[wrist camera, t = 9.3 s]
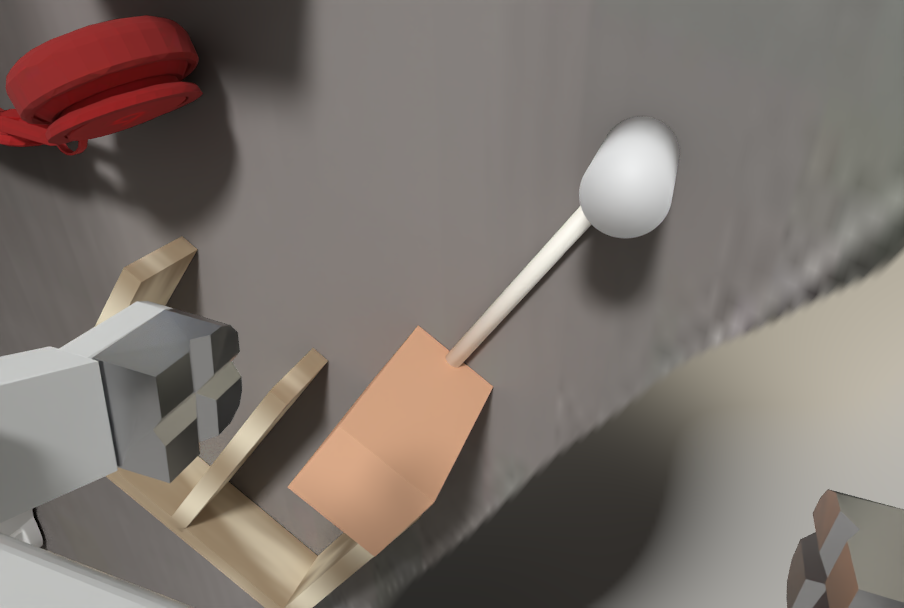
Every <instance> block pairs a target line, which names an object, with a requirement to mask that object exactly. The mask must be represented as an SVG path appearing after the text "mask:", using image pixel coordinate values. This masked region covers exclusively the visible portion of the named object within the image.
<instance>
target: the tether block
mask: <svg viewBox="0 0 904 608" xmlns="http://www.w3.org/2000/svg"><path fill="white" fill-rule="evenodd" d="M679 157H680V148H679V143H678V140H677V137H676V136H675V134H674V132H673V131H672V130H671V128H669V127H668V126H667V125H666V124H665V123H663V122H662V121H660V120H658V119H655V118H652V117H646V116H637V117H632V118H629V119H626V120H624V121H622V122H620V123H619V124H617V125H616V126H615V127H614V128H613V129H612V130H611V131H610V132H609V134H608V135H607V137H606V138H605V140H604V142H603V143H602V145H601V147H600V149H599V150H598V152H597V154H596V155H595V157H594V159H593V161H592V162H591V164H590V166H589V167H588V169H587V171H586V173H585V174H584V176H583V178H582V181H581V184H580V190H579V200H580V205H581V206H580V207H579V208H578V209H577V210H576V212H575V213H574V214H573V215H572V216H571V217H570V218H569V219H568V220H567V222H566V223H565V224H564V225H563V226H562V227H561V228H560V229H559V230H558V232H557V233H556V234H555V235H554V236H553V237H552V238H551V239H550V240H549V241H548V243H547V244H546V245H545V246H544V247H543V248H542V249H541V250H540V251H539V253H538V254H537V255H536V256H535V257H534V258H533V259H532V260H531V261H530V263H529V264H528V265H527V266H526V267H525V268H524V269H523V270H522V271H521V273H520V274H519V275H518V276H517V277H516V278H515V279H514V280H513V281H512V283H511V284H510V285H509V286H508V287H507V288H506V289H505V290H504V291H503V293H502V294H501V295H500V296H499V297H498V298H497V299H496V300H495V301H494V303H493V304H492V305H491V306H490V307H489V308H488V309H487V310H486V311H485V313H484V314H483V315H482V316H481V317H480V318H479V319H478V320H477V321H476V323H475V324H474V325H473V326H472V327H471V328H470V329H469V330H468V331H467V333H466V334H465V335H464V336H463V337H462V338H461V339H460V340H459V341H458V343H457V344H456V345H455V346H454V347H453V348H452V349H451V350H450V351H449V350H448V349H446V348H445V347H444V346H443V345H441V344H440V343H439V342H438V341H437V340H435V339H434V338H433V337H432V336H430V335H429V334H428V333H427V332H426V331H424V330H423V329H422V328H421V327H419V326H417V328H416V329H415V330H414V331H413V332H412V334H411V335H410V336H409V337H408V338H407V340H406V341H405V342H404V343H403V344H402V346H401V347H400V348H399V349H398V350H397V352H396V353H395V354H394V355H393V356H392V358H391V359H390V360H389V361H388V362H387V364H386V365H385V366H384V367H383V368H382V370H381V371H380V372H379V373H378V374H377V376H376V377H375V378H374V379H373V380H372V382H371V383H370V384H369V385H368V387H367V388H366V389H365V390H364V392H363V393H362V394H361V395H360V397H359V398H358V399H357V400H356V402H355V403H354V404H353V405H352V407H351V408H350V409H349V411H348V412H347V413H346V414H345V416H344V417H343V418H342V419H341V421H340V422H339V423H338V424H337V426H336V427H335V428H334V429H333V431H332V432H331V433H330V434H329V436H328V437H327V438H326V439H325V441H324V442H323V443H322V444H321V446H320V447H319V448H318V449H317V451H316V452H315V453H314V454H313V456H312V457H311V458H310V460H309V461H308V462H307V463H306V465H305V466H304V467H303V468H302V470H301V471H300V472H299V473H298V475H297V476H296V477H295V478H294V480H293V481H292V482H291V483H290V485H289V486H288V488H289V489H290V490H292V491H293V492H294V493H295V494H297V495H298V496H299V497H300V498H302V499H303V500H304V501H305V502H307V503H308V504H309V505H310V506H312V507H313V508H314V509H315V510H317V511H318V512H319V513H320V514H322V515H323V516H324V517H325V518H327V519H328V520H329V521H330V522H332V523H333V524H334V525H335V526H337V527H338V528H339V529H340V530H342V531H343V532H344V533H345V534H347V535H348V536H349V537H350V538H352V539H353V540H354V541H355V542H357V543H358V544H359V545H360V546H362V547H363V548H364V549H365V550H367V551H368V552H369V553H370V554H372V555H373V556H374V557H375V556H376V555H377V554H379V553H380V552H381V551H382V550H383V549H384V548H385V547H386V546H387V545H388V544H389V543H391V542H392V541H393V540H394V539H395V538H396V537H397V536H398V535H399V534H400V533H401V532H403V531H404V530H405V529H406V528H407V527H408V526H409V525H410V524H411V523H412V522H413V521H415V520H416V519H417V518H418V517H419V516H420V515H421V514H422V513H423V512H424V511H425V510H427V509H428V508H429V507H430V506H431V505H432V504H433V503H434V502H435V500H436V498H437V496H438V494H439V492H440V490H441V488H442V486H443V484H444V482H445V480H446V478H447V476H448V474H449V472H450V470H451V469H452V467H453V465H454V463H455V461H456V459H457V457H458V455H459V453H460V451H461V449H462V447H463V445H464V443H465V441H466V439H467V437H468V435H469V433H470V431H471V429H472V427H473V425H474V423H475V421H476V420H477V418H478V416H479V414H480V412H481V410H482V408H483V406H484V404H485V402H486V400H487V398H488V396H489V394H490V392H491V390H492V388H493V386H492V385H490V384H489V383H488V382H487V381H486V380H484V379H483V378H482V377H481V376H479V375H478V374H477V373H476V372H475V371H473V370H472V369H471V368H470V367H468V366H467V365H466V364H465V363H463V362H464V361H465V360H466V359H467V358H468V357H469V356H470V355H471V354H472V352H473V351H474V350H475V349H476V348H477V347H478V346H479V345H480V344H481V343H482V342H483V341H484V340H485V338H486V337H487V336H488V335H489V334H490V333H491V332H492V331H493V330H494V329H495V328H496V327H497V326H498V325H499V323H500V322H501V321H502V320H503V319H504V318H505V317H506V316H507V315H508V314H509V313H510V312H511V311H512V309H513V308H514V307H515V306H516V305H517V304H518V303H519V302H520V301H521V300H522V299H523V298H524V297H525V296H526V294H527V293H528V292H529V291H530V290H531V289H532V288H533V287H534V286H535V285H536V284H537V283H538V282H539V280H540V279H541V278H542V277H543V276H544V275H545V274H546V273H547V272H548V271H549V270H550V269H551V268H552V267H553V265H554V264H555V263H556V262H557V261H558V260H559V259H560V258H561V257H562V256H563V255H564V254H565V253H566V251H567V250H568V249H569V248H570V247H571V246H572V245H573V244H574V243H575V242H576V241H577V240H578V239H579V238H580V236H581V235H582V234H583V233H584V232H585V231H586V230H587V229H588V228H589V227H590V226H591V225H593V226H594V227H595V228H596V229H598V230H599V231H601V232H602V233H604V234H607V235H609V236H612V237H617V238H634V237H639V236H642V235H645V234H647V233H649V232H650V231H652V230H653V229H655V228H656V227H657V226H658V225H659V224H660V223H661V222H662V221H663V220H664V218H665V217H666V215H667V213H668V211H669V209H670V206H671V201H672V196H673V190H674V185H675V179H676V174H677V169H678V163H679Z"/></svg>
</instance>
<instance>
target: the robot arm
mask: <svg viewBox="0 0 904 608" xmlns="http://www.w3.org/2000/svg"><path fill="white" fill-rule="evenodd" d="M239 352H240V347H239V338H238V332H237V331H236V330H235V329H234V328H233V327H232V326H231V325H228V324H225V323H222V322H218V321H215V320H212V319H208V318H205V317H201V316H198V315H195V314H191V313H188V312H185V311H181V310H178V309H172V308H170V307H167V306H164V305H160V304H156V303H153V302H149V301H137V302H135V303H133V304H132V305H130V306H128V307H127V308H125V309H123V310H122V311H120V312H119V313H117V314H115V315H114V316H112V317H110V318H109V319H107V320H105V321H104V322H102V323H100V324H99V325H97V326H96V327H94V328H92V329H91V330H89V331H87V332H86V333H84V334H82V335H81V336H79V337H77V338H76V339H74V340H73V341H71V342H69V343H68V344H66V345H64V346H63V347H61V348H59V349H57V348H53V347H45V348H40V349H35V350H31V351H26V352H21V353H16V354H12V355H7V356H2V357H0V608H194V607H192V606H189V605H187V604H184V603H182V602H179V601H176V600H174V599H171V598H169V597H166V596H163V595H161V594H158V593H156V592H153V591H151V590H148V589H145V588H143V587H140V586H138V585H135V584H132V583H130V582H127V581H125V580H122V579H119V578H117V577H114V576H112V575H109V574H107V573H104V572H101V571H99V570H96V569H94V568H91V567H88V566H86V565H83V564H81V563H78V562H76V561H73V560H70V559H68V558H65V557H63V556H60V555H57V554H55V553H52V552H50V551H47V550H44V549H42V548H40V547H41V546H42V545H43V539H42V536H41V533H40V530H39V528H38V526H37V523H36V521H35V519H34V517H33V511H32V509H33V508H35V507H37V506H40V505H42V504H44V503H46V502H49V501H51V500H53V499H55V498H58V497H60V496H62V495H64V494H66V493H69V492H71V491H73V490H75V489H78V488H80V487H82V486H84V485H87V484H89V483H91V482H93V481H96V480H98V479H100V478H102V477H105V476H107V475H109V474H111V473H113V472H116V471H117V470H118V468H122V469H125V470H128V471H131V472H135V473H138V474H141V475H144V476H148V477H151V478H154V479H157V480H161V481H164V482H167V483H171V482H172V481H173V480H174V479H175V478H176V477H177V476H178V475H179V474H180V473H181V472H182V471H183V470H184V469H185V468H186V467H187V466H188V465H189V464H190V463H191V462H192V461H193V460H194V459H195V458H196V457H197V456H199V455H200V442H201V441H204V440H207V439H209V438H212V437H215V436H218V435H220V434H221V433H222V431H223V430H224V429H225V428H226V427H227V426H228V425H229V424H230V423H231V421H232V419H233V417H234V415H235V413H236V411H237V409H238V407H239V405H240V400H241V394H242V376H241V375H240V373H239V372H238V370H237V369H236V367H235V366H234V364H233V363H232V360H233V359H234V358H235V357H236V356H237V354H238V353H239ZM813 517H814V523H815V529H816V532H815V533H813V534H811V535H809V536H807V537H805V538H802V539H801V540H800V541H799V544H798V546H797V549H796V551H795V553H794V555H793V558H792V561H791V566H790V570H789V575H788V580H787V608H904V509H900V508H896V507H893V506H889V505H885V504H881V503H878V502H874V501H870V500H867V499H863V498H859V497H855V496H852V495H848V494H844V493H840V492H837V491H832V490H829V489H828V490H827V491H826V492H825V493H824V494H823V495H822V496H821V498H820V500H819V502H818V504H817V506H816V508H815V510H814V512H813Z"/></svg>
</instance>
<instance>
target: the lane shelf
mask: <svg viewBox="0 0 904 608" xmlns="http://www.w3.org/2000/svg"><path fill="white" fill-rule="evenodd" d="M196 251H197V249H196V248H195V247H194V246H193V245H192V244H190V243H189V242H188V241H187V240H186V239H185V238H183V237H182V236H181V237H180V238H178V239H176V240H174V241H172V242H170V243H168V244H167V245H165V246H163V247H161V248H159V249H157V250H155V251H154V252H152V253H150V254H148V255H146V256H144V257H143V258H141V259H139V260H137V261H135V262H133V263H131V264H130V265H128V266H126V267H124V268H123V270H122V273H121V275H120V277H119V279H118V281H117V283H116V285H115V287H114V289H113V291H112V293H111V295H110V297H109V299H108V301H107V303H106V305H105V307H104V309H103V311H102V313H101V315H100V317H99V319H98V321H97V323H96V325H95V327H96V326H97V325H99V324H100V323H102V322H104V321H105V320H107V319H109V318H110V317H112V316H114V315H115V314H117V313H119V312H120V311H122V310H123V309H125V308H127V307H128V306H130V305H132V304H133V303H135V302H137V301H149V302H153V303H156V304H160V305H164V306H166V304H167V302H168V300H169V299H170V297H171V295H172V293H173V292H174V290H175V288H176V286H177V285H178V283H179V281H180V279H181V278H182V276H183V274H184V272H185V271H186V269H187V267H188V265H189V264H190V262H191V260H192V258H193V257H194V255H195V253H196ZM327 362H328V360H326V359H325V358H324V357H323V356H322V355H321V354H319V353H318V352H317V351H316V350H315V349H314V348H313V349H312V350H311V351H309V352H308V353H307V354H306V355H305V356H304V357H303V358H302V359H301V360H300V361H299V362H298V363H297V364H296V365H295V366H294V367H293V368H292V369H291V370H290V371H289V372H288V373H287V374H286V375H285V376H284V377H283V378H282V379H281V380H280V381H279V382H278V383H277V384H276V385H275V386H274V387H273V388H272V389H271V390H270V391H269V393H268V394H267V395H266V396H265V398H264V399H263V400H262V402H261V403H260V404H259V405H258V407H257V408H256V409H255V410H254V412H253V413H252V414H251V416H250V417H249V418H248V419H247V421H246V422H245V423H244V425H243V426H242V427H241V428H240V430H239V431H238V432H237V434H236V435H235V436H234V437H233V439H232V440H231V441H230V442H229V444H228V445H227V446H226V448H225V449H224V450H223V451H222V453H221V454H220V455H219V457H218V458H217V459H216V460H215V462H214V463H213V464H212V466H211V467H210V466H209V465H208V464H207V463H206V462H205V461H203V460H202V459H201V458H200V457H199V456H197V457H196V458H195V459H194V460H193V461H192V462H191V463H190V464H189V465H188V466H187V467H186V468H185V469H184V470H183V471H182V472H181V473H180V474H179V475H178V476H177V477H176V478H175V479H174V480H173V481H172V482H171V483H167V482H164V481H161V480H157V479H154V478H151V477H148V476H144V475H141V474H138V473H135V472H131V471H128V470H125V469H122V468H118V470H117V471H116V472H113V473H111V474H109V475H107V476H106V477H107V478H109V479H110V480H111V481H112V482H113V483H115V484H116V485H117V486H118V487H119V488H121V489H122V490H123V491H124V492H125V493H127V494H128V495H129V496H130V497H132V498H133V499H134V500H135V501H136V502H138V503H139V504H140V505H141V506H142V507H144V508H145V509H146V510H147V511H148V512H150V513H151V514H152V515H153V516H155V517H156V518H157V519H158V520H159V521H161V522H162V523H163V524H164V525H165V526H167V527H168V528H169V529H170V530H171V531H173V532H174V533H175V534H176V535H178V536H179V537H180V538H181V539H182V540H184V541H185V542H186V543H187V544H188V545H190V546H191V547H192V548H193V549H194V550H196V551H197V552H198V553H199V554H201V555H202V556H203V557H204V558H205V559H207V560H208V561H209V562H210V563H211V564H213V565H214V566H215V567H216V568H218V569H219V570H220V571H221V572H222V573H224V574H225V575H226V576H227V577H228V578H230V579H231V580H232V581H233V582H234V583H236V584H237V585H238V586H239V587H241V588H242V589H243V590H244V591H245V592H247V593H248V594H249V595H250V596H251V597H253V598H254V599H255V600H256V601H257V602H259V603H260V604H261V605H262V606H264V607H265V608H313V607H314V606H315V605H316V604H317V603H319V602H320V601H321V600H322V599H323V598H325V597H326V596H327V595H328V594H329V593H331V592H332V591H333V590H334V589H335V588H337V587H338V586H339V585H340V584H341V583H343V582H344V581H345V580H346V579H347V578H349V577H350V576H351V575H352V574H353V573H355V572H356V571H357V570H358V569H359V568H361V567H362V566H363V565H364V564H365V563H367V562H368V561H369V560H370V559H372V558H373V557H374V556H373V555H372V554H370V553H369V552H368V551H367V550H365V549H364V548H363V547H362V546H360V545H359V544H358V543H357V542H355V541H354V540H353V539H352V538H350V537H349V536H348V535H347V534H345V533H343V534H342V535H340V536H339V537H338V538H337V539H336V540H335V541H334V542H333V543H332V544H331V545H329V546H328V547H327V548H326V549H325V550H324V551H323V552H322V553H321V554H320V555H318V556H317V555H316V554H315V553H314V552H312V551H311V550H310V549H309V548H308V547H306V546H305V545H304V544H303V543H302V542H300V541H299V540H298V539H297V538H296V537H294V536H293V535H292V534H291V533H290V532H288V531H287V530H286V529H285V528H284V527H282V526H281V525H280V524H279V523H278V522H276V521H275V520H274V519H273V518H272V517H270V516H269V515H268V514H267V513H266V512H264V511H263V510H262V509H261V508H260V507H258V506H257V505H256V504H255V503H254V502H252V501H251V500H250V499H249V498H248V497H246V496H245V495H244V494H243V493H242V492H240V491H239V490H238V489H237V488H236V487H234V486H233V485H232V484H231V483H230V482H228V481H229V480H230V479H231V478H232V477H233V475H234V474H235V473H236V472H237V471H238V469H239V468H240V467H241V466H242V465H243V463H244V462H245V461H246V460H247V458H248V457H249V456H250V455H251V454H252V452H253V451H254V450H255V449H256V448H257V446H258V445H259V444H260V443H261V442H262V440H263V439H264V438H265V437H266V436H267V434H268V433H269V432H270V431H271V430H272V428H273V427H274V426H275V425H276V423H277V422H278V421H279V420H280V419H281V417H282V416H283V415H284V414H285V413H286V411H287V410H288V409H289V408H290V407H291V405H292V404H293V403H294V402H295V401H296V399H297V398H298V397H299V396H300V394H301V393H302V392H303V391H304V390H305V388H306V387H307V386H308V385H309V384H310V382H311V381H312V380H313V379H314V378H315V376H316V375H317V374H318V373H319V372H320V370H321V369H322V368H323V367H324V366H325V364H326V363H327ZM422 514H423V513H422ZM422 514H421V515H422ZM421 515H420V516H419V517H418V518H417V519H416V520H415V521H413V522H412V523H411V524H410V525H409V526H408V527H407V528H406V529H408V528H409V527H410V526H411V525H412V524H414V523H415V522H416V521H417V520H418V519H420V517H421ZM406 529H405V530H406ZM405 530H404V531H405ZM404 531H403V532H404ZM403 532H401V533H400V534H402V533H403ZM400 534H399V535H400ZM399 535H398V536H399ZM398 536H397V537H398ZM397 537H396V538H397ZM396 538H395V539H396ZM389 544H390V543H389Z"/></svg>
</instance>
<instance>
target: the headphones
mask: <svg viewBox="0 0 904 608" xmlns="http://www.w3.org/2000/svg"><path fill="white" fill-rule="evenodd" d="M198 61H199V58H198V55H197V53H196V50H195V48H194V46H193V44H192V42H191V39H190V37H189V35H188V33H187V32H186V31H185V30H184V29H183V27H181V26H180V25H179V24H178V23H176V22H174V21H173V20H170V19H167V18H161V17H154V16H148V15H145V16H137V17H129V18H121V19H114V20H110V21H106V22H102V23H98V24H94V25H89V26H86V27H83V28H81V29H78V30H75V31H73V32H70V33H67V34H65V35H62V36H59V37H57V38H54V39H51V40H49V41H47V42H45V43H43V44H41V45H39V46H38V47H36V48H34V49H32V50H30V51H29V52H28V53H27V54H25V55H24V56H23V57H22V58H20V59H19V60H18V61H17V62H16V64H15V65H14V66H13V67H12V69H11V70H10V72H9V73H8V75H7V78H6V91H7V94H8V96H9V98H10V100H11V101H12V103H13V105H14V107H15V108H16V109H9V110H3V109H1V108H0V144H3V145H7V146H15V147H28V146H40V145H43V144H46V145H50V146H57V147H58V148H59V149H60V151H61V152H63V153H64V154H66V155H75V154H79V153H82V152H83V151H84V150H85V149H86V148H87V142H88V139H93V138H97V137H102V136H105V135H109V134H112V133H116V132H119V131H122V130H125V129H128V128H131V127H133V126H136V125H139V124H141V123H144V122H146V121H149V120H151V119H153V118H156V117H158V116H160V115H163V114H165V113H168V112H171V111H173V110H175V109H178V108H180V107H182V106H184V105H186V104H188V103H190V102H192V101H194V100H196V99H197V98H199V97H200V96H201V95H202V94H203V93H202V91H201V90H200V88H199V87H198V86H197V85H196V84H195V83H191V82H182V81H181V80H182V79H184V78H185V77H186V76H188V75H189V74H190V73H191V72H192V71H193V70H194V69H195V68H196V67H197V64H198ZM72 141H78V142H79V143H78V148H77V150H76V151H75V152H74V151H72V150H70V149H69V148H68V147H67V145H66V144H65V143H68V142H72Z"/></svg>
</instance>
